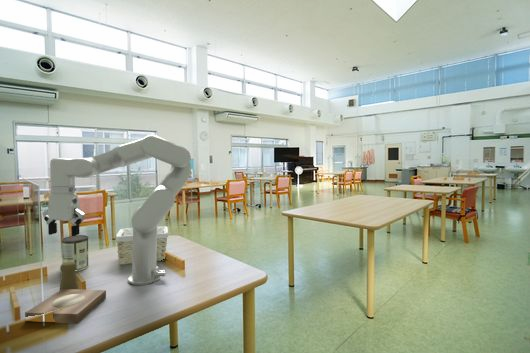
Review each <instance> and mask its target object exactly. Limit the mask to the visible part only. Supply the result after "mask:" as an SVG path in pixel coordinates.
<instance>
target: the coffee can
mask: <svg viewBox="0 0 530 353" xmlns="http://www.w3.org/2000/svg"><path fill="white" fill-rule="evenodd" d="M61 262H62V263H61V265H62V264H63V263H65V262H75V263H76V264H77V268H76V270H77V271H76V272H80V271H83V270H86V269H87V268H88V267H89V236H88V235H83V234H79V235H76V236H72V235H69V236H65V237H63V238H61Z"/></svg>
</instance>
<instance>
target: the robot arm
mask: <svg viewBox="0 0 530 353" xmlns="http://www.w3.org/2000/svg"><path fill="white" fill-rule="evenodd" d="M151 158H153V159H156V160H158V161H160V162H163V163H166V164H169V165H170V166H171V167H170V170H169V172H168V173H167V174H166V176H165V177H164V178H163V179H162V180H161V181H160V183H159V184H158V185H157V186H156V187H155V188H154V189H153V190H152V191H151V193H150V195H149V197H148V198H147V199H146V200H145V201H144V202H143V203H142V205H141V206H138V207H137V208H136V209H135V210H134V211H133V213H132V216H131V223H130V224H131V228H133V244H132V264H131V265H132V266H131V271H132V272H131V273H132V274H131V275H130V276H129V277H128V278H127V279H128V280H127V282H128V284H131V285H133V286H144V285H145V284H146V285H150V284H153V283H155V281H156V282H157V281H159V280H160V279H161V277H163V278H164V277H166V275H167V272H166V270H165V269H162V270H161V269H160V267H159V266H158V265H157V263H158V261H157V227H158V225H159V224H160V222H162V220H163V219H164V218H165V216H167V215H168V213H170V211H171V209H172V207H174V204H175V201H176V197H177V195H178V194H179V192H180V191H181V190H182V188H183V187H184V186H185V185H186V183H187V182H188V180H189V178H190V175H191V172H192V169H191V168H192V166H191V153H190V151H189V150H188V149H187V148H185V147H183V146H181V145H179V144H176V143H174V142H171V141H169V140H167V139H165V138H162V137H160V136H158V135H155V134H150V135H149V134H148V135H146V136H145V137H144V138H140V139H137V140H134V141H131V142H127V143H124V144H120V145H118V146H116V147H114V148H112V149H110V150H109V151H106V152H103V153H100V154H97V155H93V156H90V157H82V158H68V157H64V158H63V157H57V158H52V159H51V160H50V161H49V170H50V173H49V174H50V175H49V176H50V193H49V197H48V202H47V203H48V207H47V209H46V210H44V211H43V212H42V213H41V214H42V217H43V219H44V221H45V223H46V225H47V226H48V229H47V230H48V235H50V236H51V235H54V234H57V233H58V223H57V221H65V222H66V221H67V222H68V221H69V222H70V223H71V227H70V229H71V235H70V236H76V235H80V225H81V224H82V222H84V219H85V216H86V213H84V212H83V211H81V209H80V208H81V207H80V200H79V197H78V194H77V193H76V192H77V190H78V189H77V188H76V181H75V180H76V179H75V178H80V179H81V178H84V179H85V178H90V177H94V176H96V175H99V174H102V173H105V172H108V171H111V170H115V169H119V168H122V167H123V168H124V167H128V166H130V165H132V164H136V163H138V162H142V161H145V160H149V159H151ZM158 279H159V280H158ZM152 282H153V283H152ZM149 283H150V284H149Z"/></svg>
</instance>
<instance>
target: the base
mask: <svg viewBox="0 0 530 353" xmlns="http://www.w3.org/2000/svg"><path fill="white" fill-rule="evenodd" d="M59 290H60V289H59ZM59 290H58V291H57V292H55V293H53V294H52V295H51V296H49V297H47V298H45V299H44V300H43V301H41V302H40V303H38V304H37V305H34V306H33V307H32V308H30V309H29V310H27V311H26V312H25V313H24V318H25V317H28V316H35V315H41V314H44V313H47V312H50V311H55V310H57V309H61V308H63V309H62V310H58V311H55V312H54V313H52V314H53V319H54V320H55V323H54V324H78V323H79V322H81V321H82V320H83V319H84V318H85V317H86V316H87V315H89V314H90V313H91V312H92V311H93V310H94V309H96V308H97V307H98V306H99V305H100V304H101V303H102V302H104V301H105V299H107V290H106V289H79V288H78V289H61V290H60V291H59Z"/></svg>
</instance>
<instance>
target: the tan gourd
mask: <svg viewBox="0 0 530 353" xmlns="http://www.w3.org/2000/svg"><path fill="white" fill-rule="evenodd" d="M76 268H77V264H76V263H75V262H65V263H63V264H62V263H61V265H60V267H59V270H60V272H61V278H60V285H59V290H58V291H60V290H61V289H79V286H78V280H77V275H76V272H75V270H76Z"/></svg>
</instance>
